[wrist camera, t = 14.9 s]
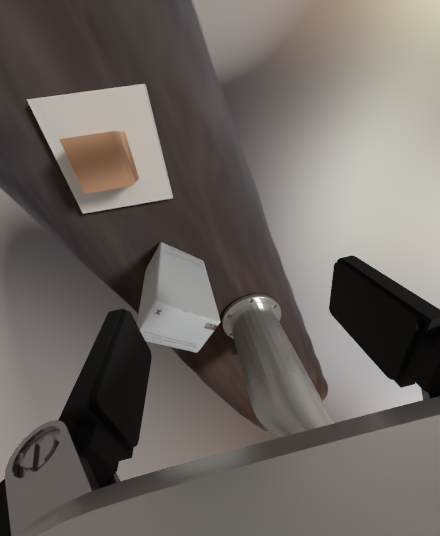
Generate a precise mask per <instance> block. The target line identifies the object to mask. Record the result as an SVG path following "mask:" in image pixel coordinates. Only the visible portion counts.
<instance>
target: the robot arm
mask: <svg viewBox="0 0 440 536" xmlns="http://www.w3.org/2000/svg"><path fill="white" fill-rule="evenodd" d="M329 309H330V312H331V314H332V316H334V318H335V319H336V320H337V321H338V322H339V323H340V324H341V325H342V327H343V328H344V329H345V330H346V331H347V332H348V333H349V335H350V336H351V337H352V338H353V339H354V340H355V341H356V342H357V343H358V345H359V346H360V347H361V348H362V349H363V350H364V351H365V353H366V354H367V355H368V356H369V357H370V358H371V359H372V360H373V361H374V363H375V364H376V365H377V366H378V367H379V368H380V369H381V370H382V372H384V374H385V375H386V376H387V377H388V378H390V379H392V380H394V381H395V382H396V383H397V384H398V385H399V386H400V387H405V386H409V385H413V384H415V382H416V383H417V384H418V385H419V386H420V387H421V389H422V395H423V401H419V402H415V403H411V404H407V405H403V406H399V407H395V408H392V409H388V410H384V411H380V412H377V413H372V414H368V415H365V416H361V417H357V418H353V419H349V420H345V421H341V422H338V423H335V421H334V420H333V418H332V417H331V415H330V414H329V412H328V410H327V408H326V407H325V405H324V403H323V401H322V400H321V398H320V396H319V394H318V393H317V391H316V389H315V387H314V385H313V383H312V382H311V380H310V378H309V376H308V374H307V373H306V371H305V369H304V367H303V365H302V363H301V361H300V360H299V358H298V356H297V354H296V352H295V350H294V349H293V347H292V345H291V343H290V341H289V339H288V337H287V336H286V334H285V332H284V330H283V328H282V326H281V325H280V323H279V321H280V318H281V309H280V307H279V305H278V303H277V302H276V301H275V300H274V299H273V298H271V297H270V296H267V295H262V294H253V295H248V296H245V297H242V298H240V299H238V300H236V301H235V302H233V303H232V304H231V305H230V306H229V307H228V308H227V309H226V311H225V312H224V314H223V318H222V325H223V329H224V331H225V333H226V334H227V335H228V336H229V337H231V338H233V339H234V341H235V345H236V349H237V352H238V356H239V360H240V363H241V367H242V371H243V374H244V378H245V382H246V386H247V389H248V393H249V397H250V400H251V404H252V408H253V410H254V413H255V415H256V417H257V418H258V420H259V421H260V422H261V423H262V425H263V426H264V427H265V428H267V429H268V430H269V431H270V432H271V433H273V434H274V435H275V436H277V437H278V438H277V439H273V440H269V441H266V442H262V443H259V444H254V445H251V446H247V447H243V448H239V449H236V450H232V451H229V452H225V453H221V454H217V455H213V456H210V457H206V458H203V459H199V460H195V461H191V462H188V463H184V464H180V465H176V466H173V467H169V468H166V469H162V470H159V471H155V472H152V473H149V474H145V475H142V476H138V477H135V478H131V479H128V480H124V481H120V479H119V478H118V476H117V474H116V471H117V468H118V463H119V461H121V460H125V459H128V458H132V453H133V447H135V446H137V444H138V440H139V434H140V429H141V422H142V416H143V409H144V403H145V396H146V390H147V384H148V376H149V371H150V365H151V351H150V349H149V347H148V345H147V343H146V341H145V339H144V337H143V335H142V334H141V332H140V330H139V328H138V326H137V324H136V322H135V320H134V318H133V316H132V315H131V313H130V311H126V310H125V309H119V310H115V311H111V312H109V313H108V314H107V317H106V319H105V321H104V323H103V325H102V328H101V330H100V332H99V334H98V336H97V338H96V341H95V342H94V345H93V347H92V349H91V351H90V354H89V356H88V358H87V360H86V362H85V364H84V366H83V368H82V371H81V373H80V375H79V377H78V379H77V381H76V384H75V386H74V388H73V390H72V392H71V394H70V396H69V399H68V401H67V403H66V405H65V407H64V409H63V411H62V414H61V416H60V418H59V420H56V421H50V422H47V423H45V424H43V425H41V426H40V427H38V428H37V429H35V430H34V431H33V432H31V433H30V434H29V435H28V436H27V437H26V438H25V439H24V440H23V441H22V442H21V444H20V445H19V446H18V447H17V448H16V450H15V451H14V453H13V454H12V456H11V458H10V459H9V462H8V465H7V467H6V471H5V479H4V480H3V481H2V482H1V483H0V536H440V309H438V308H436V307H435V306H433V305H431V304H430V303H428V302H427V301H425V300H423V299H422V298H420V297H419V296H417V295H416V294H414V293H412V292H411V291H409V290H408V289H406V288H404V287H403V286H401V285H400V284H398V283H396V282H395V281H393V280H392V279H390V278H389V277H387V276H385V275H384V274H382V273H381V272H379V271H377V270H376V269H374V268H373V267H371V266H369V265H368V264H366V263H365V262H363V261H361V260H360V259H358V258H357V257H355V256H348V257H344V258H340V259H338V261H337V263H335V265H334V272H333V280H332V289H331V298H330V305H329Z"/></svg>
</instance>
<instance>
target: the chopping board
mask: <svg viewBox="0 0 440 536" xmlns="http://www.w3.org/2000/svg"><path fill="white" fill-rule="evenodd" d="M27 101H28V103H29V105H30V107H31V109H32V112H33V114H34V116H35V118H36V120H37V122H38V124H39V126H40V128H41V130H42V132H43V134H44V136H45V138H46V140H47V142H48V144H49V146H50V148H51V150H52V152H53V154H54V156H55V158H56V160H57V162H58V164H59V166H60V168H61V171H62V173H63V175H64V177H65V179H66V181H67V183H68V185H69V187H70V189H71V191H72V193H73V195H74V197H75V199H76V201H77V203H78V205H79V207H80V209H81V211H82V213H83V214H84V213H90V212H96V211H102V210H107V209H113V208H119V207H125V206H131V205H136V204H142V203H148V202H154V201H159V200H165V199H171V198H173V195H172V190H171V186H170V182H169V178H168V174H167V170H166V166H165V162H164V158H163V154H162V149H161V145H160V141H159V137H158V133H157V129H156V125H155V121H154V117H153V113H152V108H151V104H150V100H149V96H148V92H147V88H146V85H145V84H140V85H132V86H125V87H117V88H110V89H102V90H95V91H87V92H80V93H73V94H65V95H58V96H50V97H43V98H35V99H28V100H27ZM111 131H118V132H125V134H126V138H127V141H128V144H129V147H130V150H131V153H132V157H133V160H134V163H135V166H136V169H137V173H138V176H139V179H138V180H137V181H136V182H135V183H134V184H133V185H132V186H129V187H123V188H117V189H111V190H105V191H99V192H93V193H87V194H84V192H83V190H82V187H81V185H80V183H79V181H78V179H77V177H76V174H75V172H74V170H73V168H72V166H71V164H70V161H69V159H68V157H67V155H66V153H65V151H64V149H63V146H62V144H61V142H60V140H59V139H63V138H70V137H77V136H84V135H90V134H97V133H104V132H111Z"/></svg>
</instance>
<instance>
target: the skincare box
mask: <svg viewBox="0 0 440 536" xmlns="http://www.w3.org/2000/svg"><path fill="white" fill-rule="evenodd" d="M220 323H221V321H220V318H219V314H218V311H217V307H216V304H215V300H214V297H213V293H212V289H211V286H210V282H209V279H208V275H207V272H206V268H205V265H204V261H202V260H200V259H198V258H196V257H194V256H191V255H189V254H187V253H185V252H183V251H180V250H178V249H176V248H174V247H171V246H169V245H167V244H165V243H163V242H161V243H160V244H159V246H158V248H157V250H156V251H155V253H154V255H153V257H152V259H151V261H150V263H149V265H148V266H147V268H146V272H145V278H144V284H143V290H142V296H141V302H140V308H139V314H138V320H137V326H138V328H139V330H140V332H141V334H142V335H143V337H144V339H145V341H147V342H152V343H157V344H161V345H166V346H170V347H174V348H178V349H183V350H187V351H191V352H195V353H198V351H199V350H200V349H201V348H202V346H203V345H204V344H205V342H206V341H207V340H208V338H209V337H210V336H211V334H212V333H213V332H214V330H215V329H216V328H217V326H218V325H219V324H220Z"/></svg>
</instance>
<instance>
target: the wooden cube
mask: <svg viewBox="0 0 440 536" xmlns="http://www.w3.org/2000/svg"><path fill="white" fill-rule="evenodd" d="M59 140H60V142H61V144H62V146H63V149H64V151H65V153H66V155H67V157H68V159H69V161H70V164H71V166H72V168H73V170H74V172H75V174H76V177H77V179H78V181H79V183H80V185H81V187H82V190H83V192H84V194H87V193H93V192H99V191H105V190H111V189H117V188H123V187H129V186H132V185H133V184H134V183H135V182H136V181H137V180H138V179H139V176H138V173H137V169H136V166H135V163H134V160H133V157H132V153H131V150H130V147H129V144H128V141H127V138H126V134H125V132H118V131H111V132H104V133H97V134H90V135H84V136H77V137H70V138H63V139H59Z"/></svg>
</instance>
